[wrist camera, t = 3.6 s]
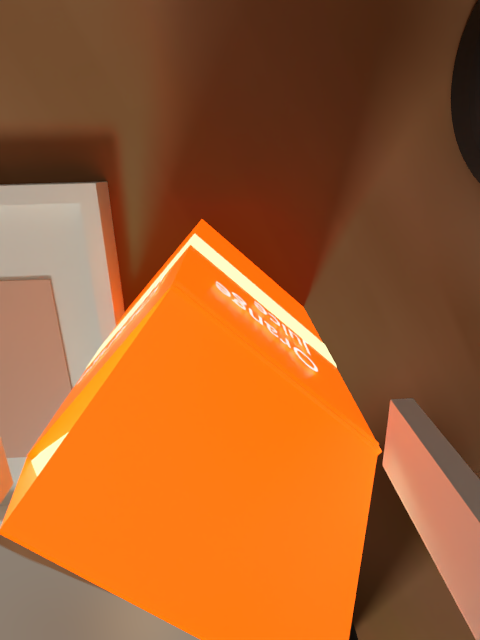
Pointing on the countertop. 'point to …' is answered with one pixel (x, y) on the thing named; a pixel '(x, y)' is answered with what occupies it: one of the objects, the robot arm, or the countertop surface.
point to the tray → (51, 303)
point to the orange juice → (208, 460)
